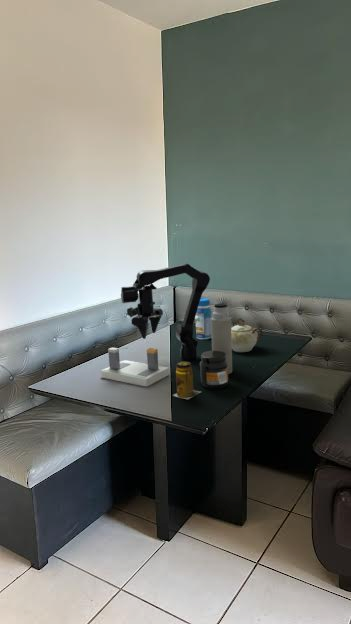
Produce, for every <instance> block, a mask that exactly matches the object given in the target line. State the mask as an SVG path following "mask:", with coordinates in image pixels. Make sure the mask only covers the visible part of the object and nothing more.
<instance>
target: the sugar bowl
mask: <svg viewBox="0 0 351 624" xmlns="http://www.w3.org/2000/svg"><path fill="white" fill-rule="evenodd" d="M239 321H241V322H242V323H239ZM245 322H246V321H245V320H244V319H243V318H238V319H237V321H236V324H237V325H234V326H231V338H232V352H233V351H234V352H235V353H246V352H247V353H248V352H250V351H252V350H253V348H254V347H255V345H256V344H257V343H259V340H260V339H261V338H262V336H263V330H262V329H261V328H254V327H253V326H250V325H247V324H245ZM258 332H260V334H259V333H258Z"/></svg>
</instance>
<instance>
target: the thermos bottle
mask: <svg viewBox="0 0 351 624" xmlns="http://www.w3.org/2000/svg"><path fill="white" fill-rule="evenodd" d="M213 305H214V311H213V312H212V314H211V316H212V318H211V335H212V337H211V351H222V352H224V353H226V361H227V362H228V375H229V374H232V372H233V349H232V338H231V328H232V317H231V316H230V312H229V311H228V308H227V307H228V304H227V303H216V304H213Z"/></svg>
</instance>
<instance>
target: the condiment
mask: <svg viewBox="0 0 351 624" xmlns="http://www.w3.org/2000/svg"><path fill="white" fill-rule="evenodd" d="M192 369H193V368H192V363H191V361H190V362H189V361H187V360H183V361H178V362H177V363H176V370H175V382H176V384H175V385H176V393H174V394H172V396H173V397H176V398H179V399H182V400H183V399H185V400H190V399H191V398H193V397H195V396H197V395H199V394H200V393H202V391H199V390H195V389H194V376H193V374H194V373H193V370H192ZM194 394H195V395H194Z"/></svg>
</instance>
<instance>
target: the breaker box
mask: <svg viewBox="0 0 351 624" xmlns="http://www.w3.org/2000/svg"><path fill="white" fill-rule="evenodd" d="M169 368H170V367H167V366H162V365H158V369H157V370H151V369H148V363H144V362H139V361H138V362H137V361H132V360H127V359H124V360H121V361H120V368H118V369H112V368H110V366H108V367H106V368H103V369H101V370H100V374H101V376H100V377H101V378H103V379H107V380H113V381H118V382H122V383H127V384H131V385H135V386H142V387H148V386H151V385H152V384H154V383H156V382H158V381H160V380H162V379H164V378H165V377H167V376H169V375H170V374H169V373H170V372H169V371H170V369H169Z"/></svg>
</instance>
